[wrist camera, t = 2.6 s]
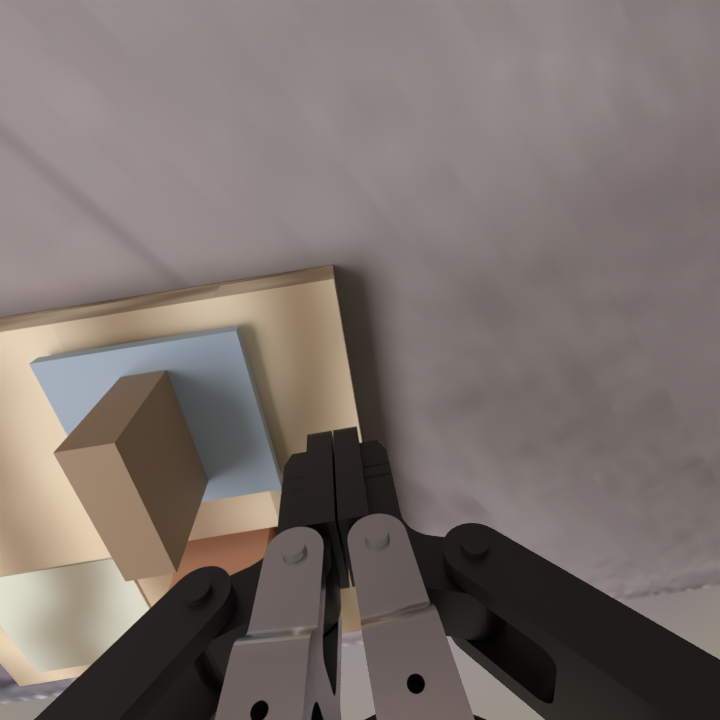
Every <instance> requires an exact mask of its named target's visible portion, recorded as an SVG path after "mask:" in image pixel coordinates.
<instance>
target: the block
mask: <svg viewBox="0 0 720 720" xmlns="http://www.w3.org/2000/svg"><path fill="white" fill-rule="evenodd" d="M276 536H277V531H276V528H275V527H270V528H264V529H258V530H251V531H245V532H239V533H233V534H227V535H221V536H215V537H208V538H202V539H196V540H190V541H188V542H187V545H186V548H185V551H184V554H183V556H182V559H181V562H180V565H179V568H178V571H177V573H175V574H174V575H173V578H172V581H171V583H170V586H169V589H168V591H169V590H170V589H171V588H172V587H173V586H174V585H175V584H176V583H177V582H178V581H179V580H180V579H182V578H183V577H184V576H185V575H187V574H188V573H190V572H192V571H194V570H196V569H198V568H202V567H206V566H217V567H220V568H223V569H224V570H225V571H227V573H228V574H229V576H230V575H232V574H234V573H237V572H239V571H241V570H243V569H245V568H247V567H250V566H251V565H253V564H255V563H257V562H258V561H260V560H261V559H262V558H263V557H264V555H265V551H266V548H267V546H268V545H269V543H270V542H271V541H272V540H273V539H274V538H275V537H276Z"/></svg>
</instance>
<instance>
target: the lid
mask: <svg viewBox="0 0 720 720" xmlns="http://www.w3.org/2000/svg"><path fill="white" fill-rule="evenodd" d="M29 365H30V367H31V368H32V370H33V372H34V374H35V376H36V378H37V380H38V382H39V383H40V385H41V387H42V389H43V391H44V393H45V395H46V397H47V398H48V400H49V402H50V404H51V406H52V408H53V410H54V412H55V413H56V415H57V417H58V419H59V421H60V423H61V425H62V427H63V428H64V430H65V432H66V434H67V436H68V437H67V438H66V439H65V440H64V441H63V442H62V443H61V445H60V446H59V447H58V448H57V449H56V450H55V451H54V452H53V454H54V455H55V457H56V459H57V461H58V462H59V464H60V466H61V468H62V470H63V471H64V473H65V475H66V477H67V478H68V480H69V482H70V484H71V486H72V487H73V489H74V491H75V493H76V494H77V496H78V498H79V500H80V502H81V503H82V505H83V507H84V509H85V511H86V512H87V514H88V516H89V518H90V519H91V521H92V523H93V525H94V527H95V528H96V530H97V532H98V534H99V535H100V537H101V539H102V541H103V543H104V544H105V546H106V548H107V550H108V551H109V553H110V555H111V557H112V559H113V560H114V562H115V564H116V566H117V567H118V569H119V571H120V573H121V575H122V576H123V578H124V580H125V582H126V581H132V580H138V579H144V578H150V577H157V576H163V575H169V574H175V573H177V571H178V568H179V565H180V562H181V559H182V556H183V554H184V551H185V548H186V545H187V542H188V539H189V536H190V533H191V530H192V527H193V525H194V522H195V519H196V516H197V513H198V510H199V507H200V504H201V502H205V501H211V500H218V499H224V498H230V497H236V496H242V495H248V494H255V493H261V492H267V491H273V490H279V489H282V483H283V480H282V476H281V473H280V469H279V466H278V462H277V459H276V455H275V452H274V448H273V445H272V441H271V438H270V434H269V430H268V427H267V423H266V420H265V416H264V413H263V409H262V406H261V402H260V399H259V395H258V392H257V388H256V385H255V381H254V377H253V374H252V370H251V367H250V363H249V360H248V356H247V353H246V349H245V346H244V342H243V339H242V335H241V332H240V328H239V325H237V326H231V327H225V328H219V329H212V330H206V331H200V332H194V333H187V334H181V335H175V336H169V337H162V338H156V339H150V340H144V341H137V342H131V343H125V344H119V345H112V346H106V347H100V348H94V349H87V350H81V351H75V352H69V353H62V354H56V355H50V356H44V357H38V358H36V359H35V360H34V361H32V362H31V363H30V364H29Z"/></svg>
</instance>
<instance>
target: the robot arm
mask: <svg viewBox="0 0 720 720" xmlns="http://www.w3.org/2000/svg"><path fill="white" fill-rule="evenodd" d="M281 492H282V494H281V499H280V509H279V518H278V528H277V536H276V537H275V538H274V539H273V540H272V541H271V542H270V543H269V545H268V546H267V548H266V551H265V555H264V557H263V558H262V559H261V560H260V561H258V562H257V563H255V564H253V565H251V566H250V567H247V568H245V569H243V570H241V571H239V572H237V573H234V574H232V575H230V576H229V574H228V573H227V571H225V570H224V569H223V568H220V567H217V566H206V567H202V568H198V569H196V570H194V571H192V572H190V573H188V574H187V575H185V576H184V577H183V578H182V579H180V580H179V581H178V582H177V583H176V584H175V585H174V586H173V587H172V588H171V589H170V590H169V591H168V592H167V593H166V594H165V595H164V596H163V597H162V598H161V599H159V600H158V601H157V602H156V603H155V604H154V605H153V606H152V607H151V608H150V609H149V610H148V611H147V612H146V613H145V614H144V615H143V616H142V617H141V618H140V619H139V620H138V621H137V622H136V623H134V624H133V625H132V626H131V627H130V628H129V629H128V630H127V631H126V632H125V633H124V634H123V635H122V636H121V637H120V638H119V639H118V640H117V641H116V642H115V643H114V644H113V645H112V646H110V647H109V648H108V649H107V650H106V651H105V652H104V653H103V654H102V655H101V656H100V657H99V658H98V659H97V660H96V661H95V662H94V663H93V664H92V665H91V666H90V667H89V668H88V669H87V670H85V671H84V672H83V673H82V674H81V675H80V676H79V677H78V678H77V679H76V680H75V681H74V682H73V683H72V684H71V685H70V686H69V687H68V688H67V689H66V690H65V691H64V692H63V693H61V694H60V695H59V696H58V697H57V698H56V699H55V700H54V701H53V702H52V703H51V704H50V705H49V706H48V707H47V708H46V709H45V710H44V711H43V712H42V713H41V714H40V715H39V716H38V717H37V718H35V719H34V720H341V712H340V685H341V684H340V683H341V682H340V681H341V644H342V617H341V592H340V589H345V588H350V583H349V573H350V578H351V583H352V587H355V589H356V595H357V601H358V606H359V612H360V618H361V629H362V635H363V641H364V646H365V653H366V659H367V665H368V671H369V677H370V682H371V689H372V694H373V700H374V706H375V712H376V714H375V715H373V716H371V717H369V718H367V719H365V720H486V719H483V718H481V717H479V716H476V715H473V714H472V710H471V708H470V705H469V702H468V699H467V696H466V693H465V690H464V687H463V684H462V681H461V678H460V675H459V672H458V670H457V667H456V664H455V661H454V658H453V655H452V652H451V649H450V646H449V643H448V640H447V637H446V636H451V637H452V639H453V641H454V642H455V643H456V645H457V646H458V647H460V649H462V650H463V651H464V652H465V653H466V654H468V655H469V656H470V657H471V658H472V659H474V660H475V661H476V662H477V663H479V664H480V665H481V666H482V667H483V668H484V669H486V670H487V671H488V672H489V673H490V674H492V675H493V676H494V677H495V678H496V679H497V680H499V681H500V682H501V683H502V684H503V685H505V686H506V687H507V688H508V689H509V690H511V691H512V692H513V693H514V694H515V695H517V696H518V697H519V698H520V699H521V700H523V701H524V702H525V703H526V704H527V705H529V706H530V707H531V708H532V709H533V710H535V711H536V712H537V713H538V714H539V715H540V716H542V717H543V718H544V719H545V720H720V660H719V659H718V658H716V657H714V656H712V655H711V654H709V653H707V652H705V651H704V650H702V649H700V648H699V647H696V646H695V645H693V644H692V643H690V642H688V641H686V640H685V639H683V638H681V637H679V636H678V635H676V634H674V633H672V632H671V631H669V630H667V629H666V628H664V627H662V626H660V625H658V624H656V623H655V622H653V621H652V620H650V619H648V618H646V617H645V616H643V615H641V614H640V613H638V612H636V611H634V610H633V609H631V608H629V607H627V606H626V605H624V604H622V603H621V602H619V601H617V600H615V599H614V598H612V597H610V596H608V595H607V594H605V593H603V592H601V591H600V590H598V589H596V588H594V587H593V586H591V585H589V584H588V583H586V582H584V581H582V580H581V579H579V578H577V577H575V576H574V575H572V574H570V573H568V572H567V571H565V570H563V569H562V568H560V567H558V566H556V565H555V564H553V563H551V562H549V561H548V560H546V559H544V558H542V557H541V556H539V555H537V554H536V553H534V552H532V551H530V550H529V549H527V548H525V547H523V546H522V545H520V544H518V543H516V542H515V541H513V540H511V539H510V538H508V537H506V536H504V535H503V534H501V533H499V532H497V531H496V530H494V529H492V528H490V527H488V526H485V525H482V524H477V523H466V524H462V525H459V526H456V527H455V528H453V529H451V530H450V531H449V532H448V533H447V535H446V536H445V537H438V536H430V535H425V534H421V533H419V532H417V531H415V530H413V529H411V528H410V527H409V526H408V525H407V524H406V523H405V522H404V520H403V519H402V516H401V513H400V509H399V505H398V500H397V496H396V491H395V487H394V482H393V478H392V474H391V469H390V465H389V460H388V456H387V452H386V449H385V448H384V447H383V446H382V445H381V444H380V443H379V442H378V441H377V440H374V441H368V442H362V443H360V442H359V436H358V430H357V426H356V427H349V428H343V429H337V430H333V434H332V431H326V432H320V433H314V434H308V435H307V452H302V453H296V454H292V455H291V457H290V458H289V460H288V461H287V463H286V464H285V466H284V470H283V483H282V490H281Z"/></svg>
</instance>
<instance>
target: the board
mask: <svg viewBox="0 0 720 720" xmlns="http://www.w3.org/2000/svg"><path fill="white" fill-rule="evenodd" d="M237 325H239V328H240V332H241V335H242V339H243V342H244V346H245V349H246V353H247V356H248V360H249V363H250V367H251V370H252V374H253V377H254V381H255V385H256V388H257V392H258V395H259V399H260V402H261V406H262V409H263V413H264V416H265V420H266V423H267V427H268V430H269V434H270V438H271V441H272V445H273V448H274V452H275V455H276V459H277V462H278V466H279V469H280V473H281V476H282V480H283V470H284V466H285V464H286V463H287V461H288V460H289V458H290V457H291V455H292V454H296V453H302V452H307V435H308V434H314V433H320V432H326V431H332V434H333V430H337V429H343V428H349V427H356V426H357V430H358V436H359V442H360V443H362V442H363V440H362V434H361V428H360V422H359V416H358V411H357V405H356V399H355V393H354V387H353V381H352V375H351V370H350V364H349V358H348V352H347V346H346V340H345V334H344V328H343V323H342V317H341V311H340V305H339V299H338V293H337V287H336V281H335V276H334V270H333V265H329V266H323V267H317V268H311V269H304V270H298V271H292V272H286V273H279V274H273V275H267V276H260V277H254V278H248V279H242V280H235V281H229V282H223V283H217V284H210V285H204V286H198V287H191V288H185V289H179V290H173V291H166V292H160V293H154V294H148V295H141V296H135V297H129V298H122V299H116V300H110V301H104V302H97V303H91V304H85V305H79V306H72V307H66V308H60V309H53V310H47V311H41V312H35V313H28V314H22V315H16V316H10V317H3V318H0V663H1V664H2V666H3V667H4V668H5V669H6V670H7V671H8V673H9V674H10V675H11V676H12V677H13V678H14V680H15V681H16V682H17V683H18V684H19V685H20V686H25V685H31V684H37V683H43V682H49V681H55V680H61V679H67V678H74V677H79V676H80V675H81V674H82V673H83V672H84V671H85V670H87V669H88V668H89V667H90V666H91V665H92V664H93V663H94V662H95V661H96V660H97V659H98V658H99V657H100V656H101V655H102V654H103V653H104V652H105V651H106V650H107V649H108V648H109V647H110V646H112V645H113V644H114V643H115V642H116V641H117V640H118V639H119V638H120V637H121V636H122V635H123V634H124V633H125V632H126V631H127V630H128V629H129V628H130V627H131V626H132V625H133V624H134V623H136V622H137V621H138V620H139V619H140V618H141V617H142V616H143V615H144V614H145V613H146V612H147V611H148V610H149V609H150V608H151V607H152V606H153V605H154V604H155V603H156V602H157V601H158V600H159V599H161V598H162V597H163V596H164V595H165V594H166V593H167V592H168V589H169V586H170V583H171V581H172V578H173V575H174V574H169V575H163V576H157V577H150V578H144V579H138V580H132V581H126V582H125V580H124V578H123V576H122V575H121V573H120V571H119V569H118V567H117V566H116V564H115V562H114V560H113V559H112V557H111V555H110V553H109V551H108V550H107V548H106V546H105V544H104V543H103V541H102V539H101V537H100V535H99V534H98V532H97V530H96V528H95V527H94V525H93V523H92V521H91V519H90V518H89V516H88V514H87V512H86V511H85V509H84V507H83V505H82V503H81V502H80V500H79V498H78V496H77V494H76V493H75V491H74V489H73V487H72V486H71V484H70V482H69V480H68V478H67V477H66V475H65V473H64V471H63V470H62V468H61V466H60V464H59V462H58V461H57V459H56V457H55V455H54V454H53V452H54V451H55V450H56V449H57V448H58V447H59V446H60V445H61V443H62V442H63V441H64V440H65V439H66V438H67V437H68V436H67V434H66V432H65V430H64V428H63V427H62V425H61V423H60V421H59V419H58V417H57V415H56V413H55V412H54V410H53V408H52V406H51V404H50V402H49V400H48V398H47V397H46V395H45V393H44V391H43V389H42V387H41V385H40V383H39V382H38V380H37V378H36V376H35V374H34V372H33V370H32V368H31V367H30V365H29V364H30V363H31V362H32V361H34V360H35V359H36V358H38V357H44V356H50V355H56V354H62V353H69V352H75V351H81V350H87V349H94V348H100V347H106V346H112V345H119V344H125V343H131V342H137V341H144V340H150V339H156V338H162V337H169V336H175V335H181V334H187V333H194V332H200V331H206V330H212V329H219V328H225V327H231V326H237ZM281 490H282V489H279V490H273V491H267V492H261V493H255V494H248V495H242V496H236V497H230V498H224V499H218V500H211V501H205V502H201V504H200V507H199V510H198V513H197V516H196V519H195V522H194V525H193V527H192V530H191V533H190V536H189V539H188V541H190V540H196V539H202V538H208V537H215V536H221V535H227V534H233V533H239V532H245V531H251V530H258V529H264V528H270V527H275V528H276V531H277V528H278V518H279V509H280V499H281V494H282V492H281ZM349 583H350V588H345V589H340V592H341V617H342V633H348V632H354V631H360V630H362V629H361V618H360V612H359V606H358V601H357V595H356V589H355V587H352V583H351V578H350V573H349Z"/></svg>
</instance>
